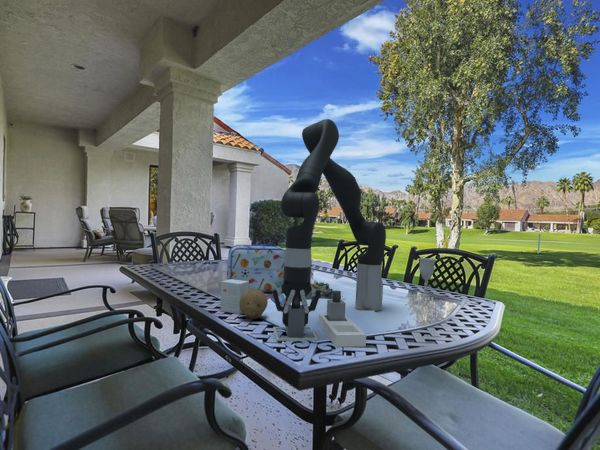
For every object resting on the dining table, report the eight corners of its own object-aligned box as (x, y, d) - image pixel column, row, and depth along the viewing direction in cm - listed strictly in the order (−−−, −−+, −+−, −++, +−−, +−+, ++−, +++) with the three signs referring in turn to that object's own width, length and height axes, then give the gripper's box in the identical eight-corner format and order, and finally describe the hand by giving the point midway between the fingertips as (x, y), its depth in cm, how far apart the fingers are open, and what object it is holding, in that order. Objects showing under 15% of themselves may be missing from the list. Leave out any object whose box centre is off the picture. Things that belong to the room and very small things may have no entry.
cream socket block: (318, 326, 107) (318, 311, 107) (343, 326, 108) (343, 311, 108) (335, 350, 87) (336, 332, 87) (365, 350, 89) (366, 332, 89)
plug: (301, 332, 98) (302, 294, 98) (303, 338, 94) (305, 298, 94) (285, 333, 98) (287, 294, 97) (287, 338, 93) (289, 297, 93)
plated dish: (274, 286, 171) (274, 271, 171) (327, 286, 179) (328, 272, 179) (291, 304, 138) (292, 286, 138) (356, 304, 145) (357, 286, 145)
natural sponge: (262, 325, 105) (263, 293, 105) (234, 322, 107) (235, 290, 107) (269, 317, 114) (271, 287, 114) (244, 315, 116) (245, 285, 116)
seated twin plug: (340, 325, 105) (341, 289, 105) (344, 330, 101) (346, 292, 101) (326, 325, 105) (327, 289, 105) (329, 330, 100) (331, 292, 100)
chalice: (435, 299, 154) (437, 259, 154) (432, 302, 148) (434, 260, 148) (418, 296, 158) (420, 257, 158) (414, 299, 152) (416, 258, 152)
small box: (248, 311, 121) (249, 281, 121) (239, 314, 116) (240, 283, 116) (229, 307, 125) (230, 278, 125) (220, 311, 120) (221, 280, 120)
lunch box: (284, 288, 164) (286, 242, 163) (290, 293, 154) (292, 244, 153) (225, 289, 156) (227, 240, 155) (227, 294, 146) (229, 242, 145)
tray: (310, 331, 102) (310, 326, 102) (317, 343, 92) (317, 338, 92) (273, 332, 100) (273, 326, 100) (276, 344, 90) (276, 338, 90)
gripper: (319, 263, 100) (317, 321, 101) (270, 262, 98) (268, 322, 98) (325, 266, 93) (323, 330, 93) (273, 265, 91) (270, 330, 91)
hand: (294, 325), depth 96 cm, fingers closed on plug, 4 cm apart
